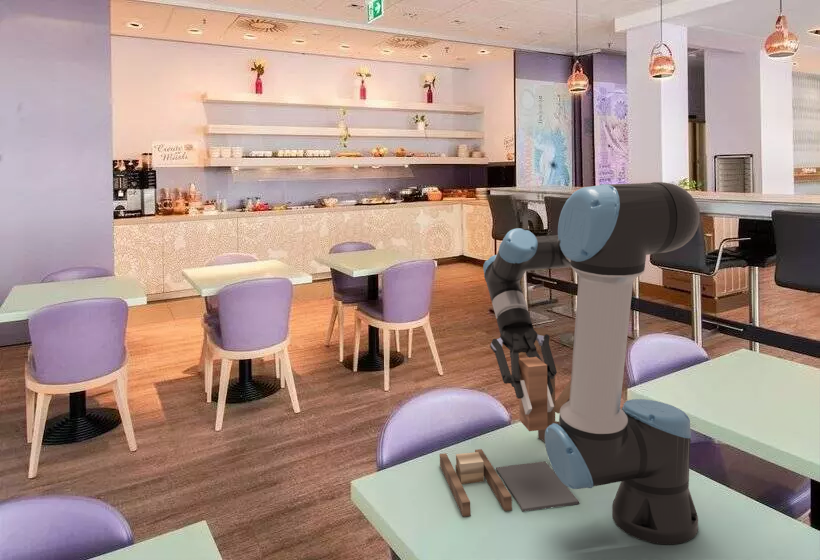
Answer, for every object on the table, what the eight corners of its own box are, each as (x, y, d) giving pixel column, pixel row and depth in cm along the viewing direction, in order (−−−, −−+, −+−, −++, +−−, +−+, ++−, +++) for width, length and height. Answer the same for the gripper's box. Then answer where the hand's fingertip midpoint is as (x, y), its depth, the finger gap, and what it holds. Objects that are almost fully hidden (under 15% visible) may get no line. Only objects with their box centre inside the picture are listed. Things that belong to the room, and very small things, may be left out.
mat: (579, 504, 120) (579, 501, 120) (522, 511, 118) (522, 508, 118) (545, 463, 137) (545, 461, 137) (495, 469, 135) (495, 467, 135)
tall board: (547, 429, 123) (547, 365, 121) (529, 431, 123) (528, 366, 120) (536, 418, 129) (536, 356, 127) (519, 420, 128) (518, 358, 126)
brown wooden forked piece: (580, 435, 152) (581, 368, 149) (546, 443, 148) (545, 375, 145) (571, 429, 155) (571, 364, 152) (537, 438, 151) (536, 371, 148)
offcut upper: (483, 472, 130) (483, 461, 130) (460, 474, 129) (460, 464, 129) (478, 462, 135) (478, 452, 135) (456, 464, 134) (455, 454, 134)
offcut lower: (483, 482, 131) (483, 472, 130) (461, 485, 130) (460, 474, 129) (477, 471, 136) (477, 461, 135) (455, 474, 135) (455, 464, 134)
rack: (512, 510, 119) (511, 496, 118) (462, 516, 117) (462, 502, 117) (481, 460, 140) (481, 449, 140) (440, 465, 139) (439, 453, 138)
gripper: (543, 320, 139) (573, 413, 126) (473, 326, 136) (496, 422, 123) (552, 303, 133) (584, 398, 119) (479, 309, 130) (503, 407, 117)
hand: (539, 410), depth 121 cm, fingers closed on tall board, 4 cm apart
